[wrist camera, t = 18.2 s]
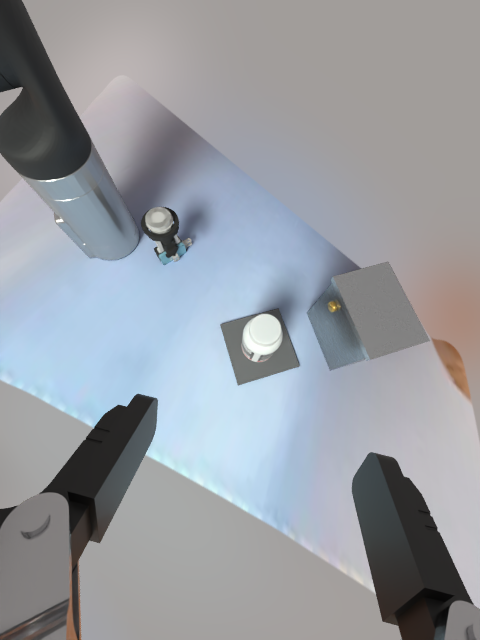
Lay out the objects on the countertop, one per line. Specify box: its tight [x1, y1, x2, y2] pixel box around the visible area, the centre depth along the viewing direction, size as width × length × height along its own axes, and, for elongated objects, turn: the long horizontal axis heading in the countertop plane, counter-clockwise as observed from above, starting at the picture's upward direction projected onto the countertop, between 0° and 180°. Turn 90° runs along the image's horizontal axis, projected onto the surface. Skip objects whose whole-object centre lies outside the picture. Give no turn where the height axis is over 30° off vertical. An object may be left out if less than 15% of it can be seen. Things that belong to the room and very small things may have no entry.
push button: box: [141, 207, 192, 265], centre depth 42 cm, size 7×5×10 cm
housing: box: [307, 262, 430, 370], centre depth 37 cm, size 8×11×13 cm
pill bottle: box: [241, 314, 283, 362], centre depth 37 cm, size 5×5×10 cm
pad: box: [220, 309, 299, 385], centre depth 42 cm, size 10×10×1 cm
